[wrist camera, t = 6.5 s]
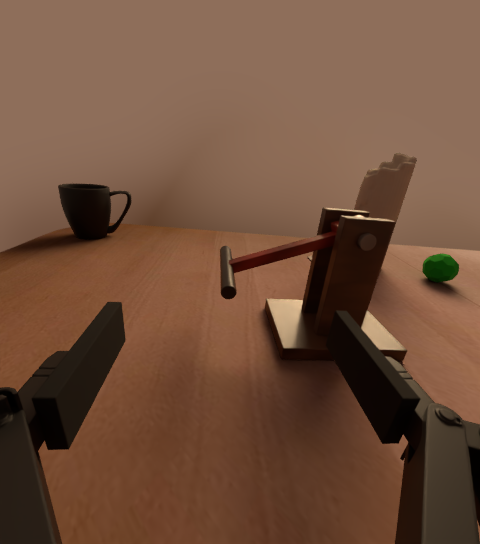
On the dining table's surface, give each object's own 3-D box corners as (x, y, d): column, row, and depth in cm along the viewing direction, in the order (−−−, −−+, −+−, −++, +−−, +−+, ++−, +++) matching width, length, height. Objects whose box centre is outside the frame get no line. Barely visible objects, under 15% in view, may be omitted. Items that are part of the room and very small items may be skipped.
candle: (304, 253, 53) (325, 146, 45) (369, 259, 54) (401, 154, 46) (314, 266, 46) (341, 143, 38) (388, 272, 47) (429, 152, 39)
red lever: (225, 307, 20) (216, 281, 19) (223, 261, 29) (217, 242, 28) (401, 260, 20) (401, 230, 19) (343, 228, 29) (341, 207, 28)
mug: (133, 241, 51) (129, 191, 47) (62, 242, 47) (52, 187, 43) (134, 230, 58) (130, 186, 54) (72, 230, 54) (64, 182, 50)
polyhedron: (442, 277, 47) (452, 252, 45) (458, 288, 43) (471, 262, 41) (413, 273, 48) (422, 248, 46) (426, 284, 43) (437, 257, 42)
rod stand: (280, 359, 23) (307, 219, 18) (264, 307, 32) (280, 201, 27) (402, 361, 25) (459, 230, 20) (356, 311, 33) (388, 210, 28)
